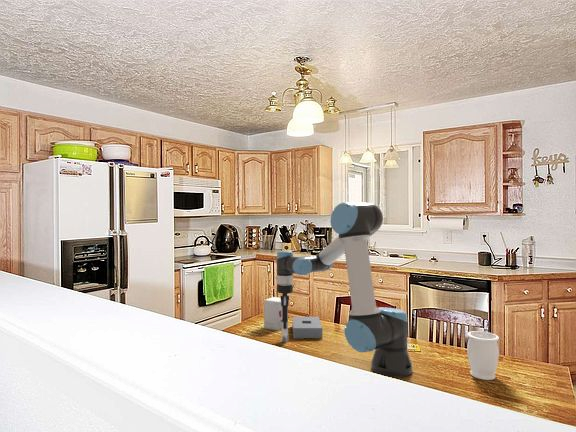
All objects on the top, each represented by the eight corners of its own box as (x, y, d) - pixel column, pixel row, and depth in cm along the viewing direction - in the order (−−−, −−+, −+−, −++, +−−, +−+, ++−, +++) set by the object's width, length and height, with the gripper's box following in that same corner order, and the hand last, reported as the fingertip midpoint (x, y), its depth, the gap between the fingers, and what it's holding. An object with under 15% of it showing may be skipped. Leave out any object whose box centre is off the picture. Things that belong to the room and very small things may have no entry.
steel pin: (288, 342, 174) (287, 310, 174) (281, 342, 174) (281, 310, 174) (288, 340, 177) (287, 308, 177) (281, 340, 177) (281, 308, 177)
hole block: (322, 338, 180) (322, 328, 180) (293, 338, 180) (293, 328, 180) (318, 326, 200) (318, 316, 200) (292, 326, 200) (292, 316, 200)
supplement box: (277, 331, 191) (277, 301, 191) (263, 328, 196) (263, 299, 196) (287, 326, 199) (287, 298, 199) (273, 324, 204) (273, 296, 204)
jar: (471, 367, 145) (471, 328, 145) (501, 374, 139) (501, 334, 139) (463, 376, 137) (463, 335, 137) (495, 384, 131) (495, 341, 131)
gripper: (277, 280, 184) (277, 328, 184) (276, 287, 167) (276, 339, 168) (292, 280, 184) (292, 328, 184) (293, 287, 168) (293, 339, 168)
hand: (284, 333), depth 176 cm, fingers closed on steel pin, 3 cm apart
